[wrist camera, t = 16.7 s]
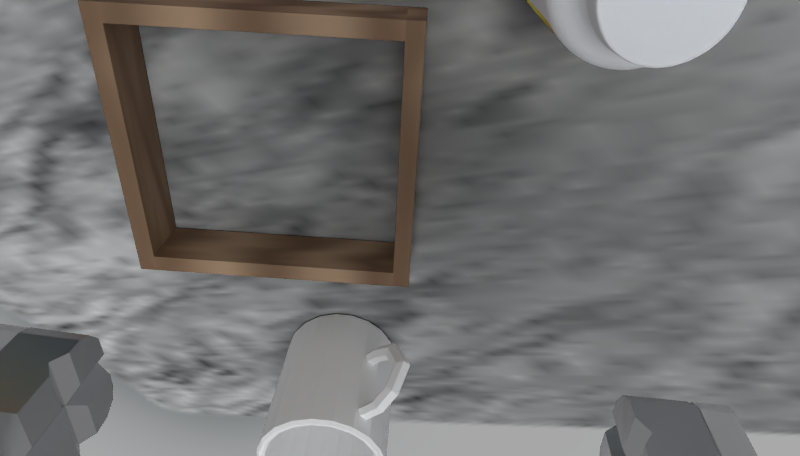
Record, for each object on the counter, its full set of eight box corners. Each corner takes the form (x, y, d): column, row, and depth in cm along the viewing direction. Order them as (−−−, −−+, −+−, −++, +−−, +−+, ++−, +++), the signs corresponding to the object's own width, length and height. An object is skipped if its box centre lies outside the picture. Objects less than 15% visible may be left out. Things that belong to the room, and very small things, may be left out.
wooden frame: (427, 7, 30) (426, 21, 27) (410, 255, 38) (408, 287, 35) (112, -11, 30) (77, 0, 27) (163, 239, 39) (141, 268, 36)
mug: (451, 323, 41) (456, 435, 33) (350, 404, 46) (332, 519, 38) (367, 262, 39) (349, 365, 30) (270, 354, 44) (231, 465, 35)
